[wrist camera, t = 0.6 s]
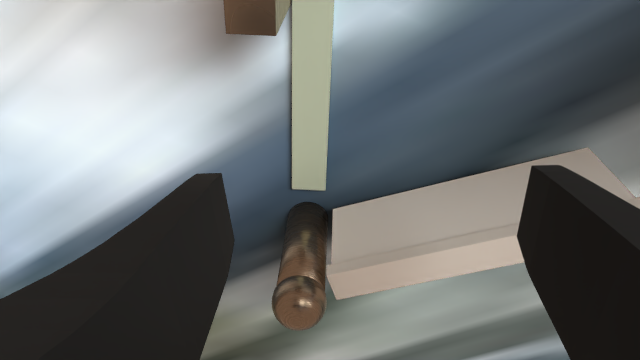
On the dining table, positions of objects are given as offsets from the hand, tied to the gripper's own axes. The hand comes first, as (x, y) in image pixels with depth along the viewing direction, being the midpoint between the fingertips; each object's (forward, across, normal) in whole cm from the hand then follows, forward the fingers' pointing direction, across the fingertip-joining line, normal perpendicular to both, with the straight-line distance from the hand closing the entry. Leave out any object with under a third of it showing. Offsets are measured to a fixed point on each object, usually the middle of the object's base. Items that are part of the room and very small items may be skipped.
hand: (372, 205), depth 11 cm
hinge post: (+10, +3, +8) cm, 12 cm away
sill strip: (+10, +2, 0) cm, 10 cm away
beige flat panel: (+9, -4, +6) cm, 11 cm away
